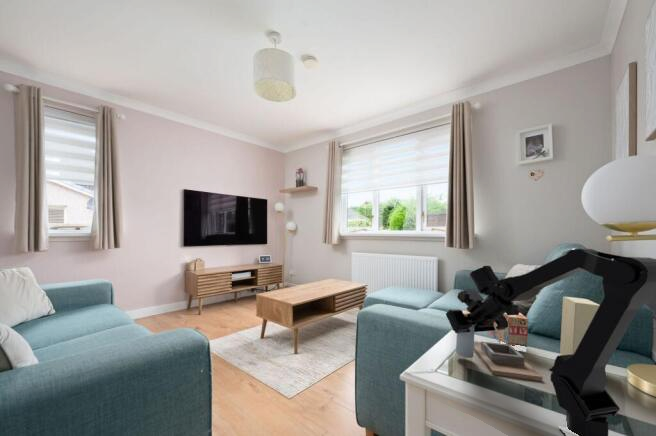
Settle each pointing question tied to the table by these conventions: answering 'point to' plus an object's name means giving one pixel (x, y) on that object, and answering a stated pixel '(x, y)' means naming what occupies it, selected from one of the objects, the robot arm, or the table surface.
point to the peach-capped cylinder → (465, 341)
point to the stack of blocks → (513, 330)
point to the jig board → (505, 361)
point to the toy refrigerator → (575, 322)
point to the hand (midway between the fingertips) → (462, 331)
